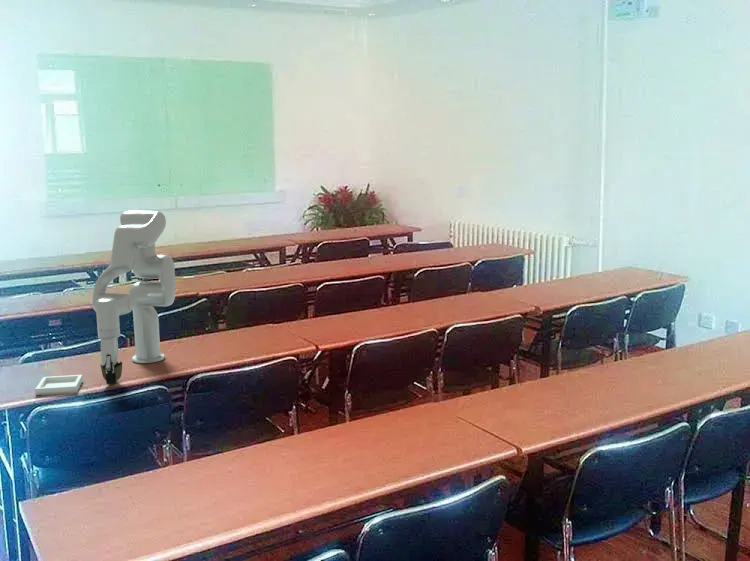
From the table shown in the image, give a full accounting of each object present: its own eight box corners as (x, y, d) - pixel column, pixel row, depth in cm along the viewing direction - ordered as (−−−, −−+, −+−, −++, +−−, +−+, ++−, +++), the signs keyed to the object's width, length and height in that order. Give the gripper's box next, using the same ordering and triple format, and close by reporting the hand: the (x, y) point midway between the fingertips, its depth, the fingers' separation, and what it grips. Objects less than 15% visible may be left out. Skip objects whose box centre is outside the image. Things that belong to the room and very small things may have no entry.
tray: (44, 383, 275) (43, 376, 274) (82, 381, 277) (82, 374, 277) (35, 395, 262) (34, 389, 261) (76, 393, 265) (75, 386, 264)
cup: (97, 385, 272) (95, 364, 270) (113, 379, 278) (111, 359, 277) (112, 389, 268) (110, 367, 267) (128, 383, 275) (126, 362, 273)
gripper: (101, 327, 277) (105, 373, 281) (94, 339, 260) (98, 389, 264) (122, 325, 279) (126, 372, 282) (116, 338, 262) (120, 387, 265)
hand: (112, 380), depth 273 cm, fingers closed on cup, 6 cm apart
